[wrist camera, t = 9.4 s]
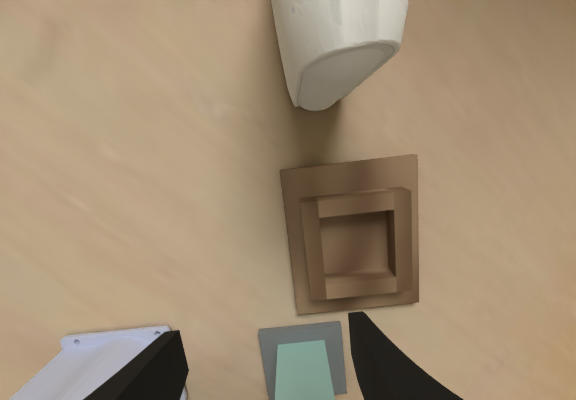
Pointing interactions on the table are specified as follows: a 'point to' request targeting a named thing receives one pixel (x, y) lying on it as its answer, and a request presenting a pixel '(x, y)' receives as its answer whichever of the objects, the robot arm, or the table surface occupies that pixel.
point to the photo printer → (335, 45)
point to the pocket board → (353, 233)
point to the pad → (304, 334)
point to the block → (303, 372)
